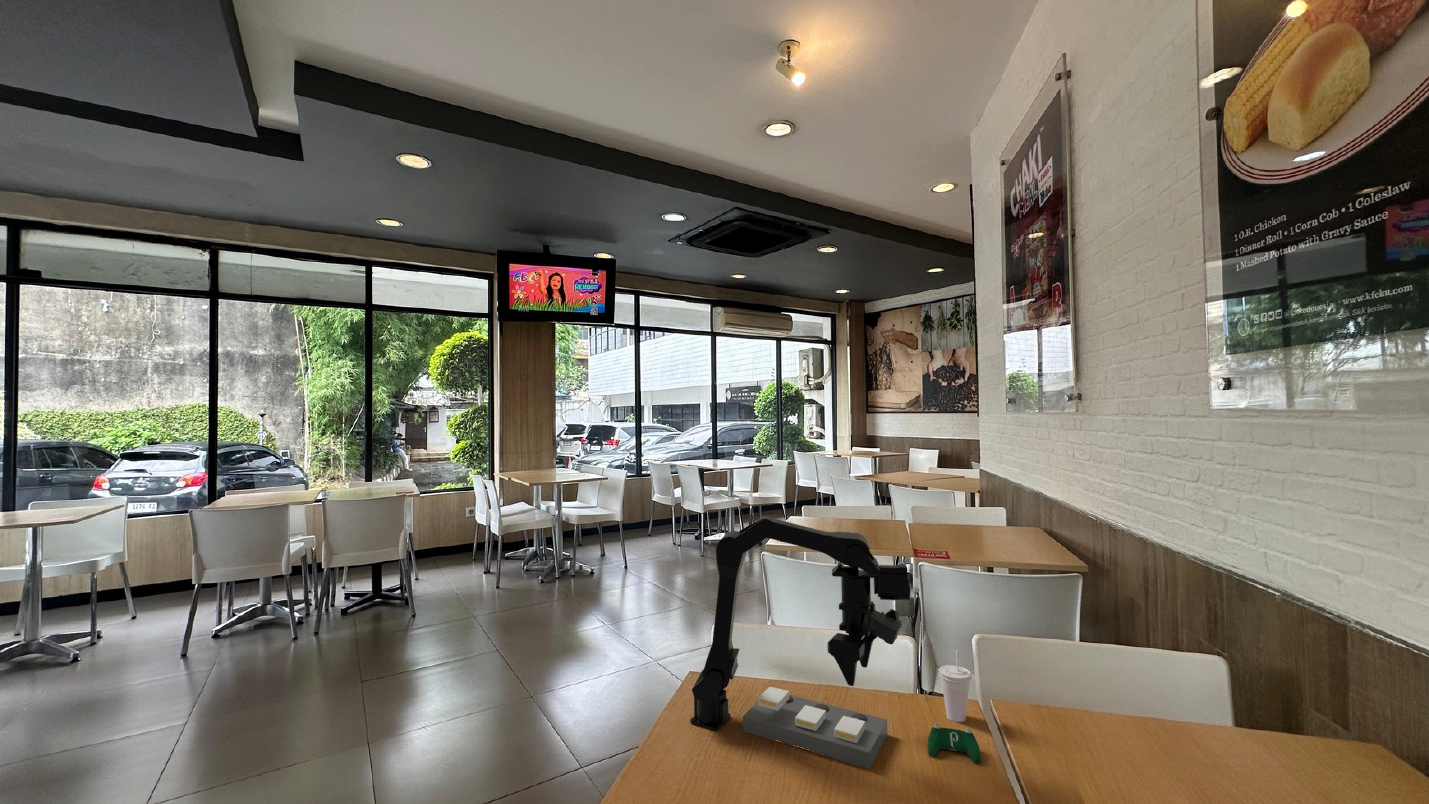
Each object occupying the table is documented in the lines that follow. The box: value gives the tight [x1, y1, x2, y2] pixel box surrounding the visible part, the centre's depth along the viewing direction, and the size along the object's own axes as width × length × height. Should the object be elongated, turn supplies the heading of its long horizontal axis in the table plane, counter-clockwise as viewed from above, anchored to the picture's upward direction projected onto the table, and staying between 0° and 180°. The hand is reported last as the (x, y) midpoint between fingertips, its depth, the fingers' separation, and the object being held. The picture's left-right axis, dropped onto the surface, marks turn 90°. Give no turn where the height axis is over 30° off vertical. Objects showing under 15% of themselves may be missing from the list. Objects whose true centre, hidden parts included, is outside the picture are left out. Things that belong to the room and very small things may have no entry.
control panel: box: [742, 694, 888, 770], centre depth 118 cm, size 26×13×3 cm, turn 60°
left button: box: [757, 686, 790, 710], centre depth 120 cm, size 4×6×2 cm
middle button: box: [795, 705, 826, 731], centre depth 116 cm, size 4×6×2 cm
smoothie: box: [938, 650, 973, 723], centre depth 123 cm, size 6×6×14 cm
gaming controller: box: [927, 723, 982, 765], centre depth 111 cm, size 9×4×6 cm
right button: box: [834, 716, 865, 743], centre depth 112 cm, size 4×6×2 cm
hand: (857, 675), depth 117 cm, fingers open, 9 cm apart
